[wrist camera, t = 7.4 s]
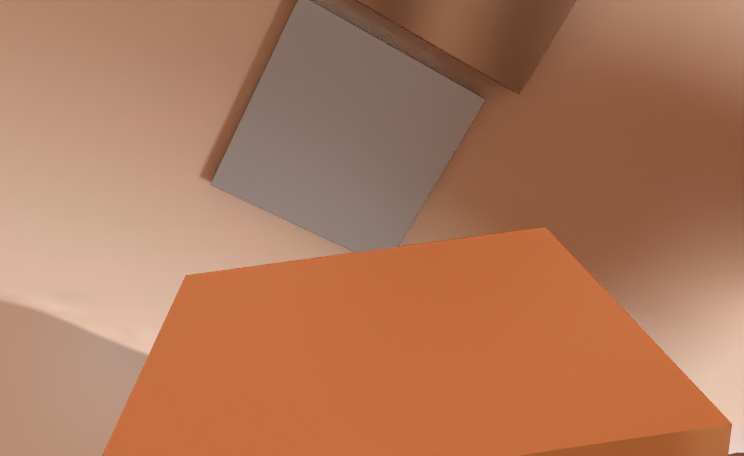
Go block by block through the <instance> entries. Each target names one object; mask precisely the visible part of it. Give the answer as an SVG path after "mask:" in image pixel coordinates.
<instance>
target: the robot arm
mask: <svg viewBox="0 0 744 456" xmlns="http://www.w3.org/2000/svg"><path fill="white" fill-rule="evenodd" d="M728 456H744V453H734V454H729V455H728Z"/></svg>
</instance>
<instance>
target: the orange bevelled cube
mask: <svg viewBox="0 0 744 456" xmlns="http://www.w3.org/2000/svg"><path fill="white" fill-rule="evenodd" d="M731 427H732V423H731V422H730V421H729V420H728V419H727V418H726V417H725V416H724V415H723V414H722V413H721V412H720V411H719V410H718V409H717V408H716V406H715V405H714V404H713V403H712V402H711V401H710V400H709V399H708V398H707V397H706V396H705V395H704V394H703V393H702V392H701V391H700V390H699V388H698V387H697V386H696V385H695V384H694V383H693V382H692V381H691V380H690V379H689V378H688V377H687V376H686V375H685V374H684V373H683V372H682V371H681V369H680V368H679V367H678V366H677V365H676V364H675V363H674V362H673V361H672V360H671V359H670V358H669V357H668V356H667V355H666V354H665V353H664V352H663V350H662V349H661V348H660V347H659V346H658V345H657V344H656V343H655V342H654V341H653V340H652V339H651V338H650V337H649V336H648V335H647V334H646V333H645V331H644V330H643V329H642V328H641V327H640V326H639V325H638V324H637V323H636V322H635V321H634V320H633V319H632V318H631V317H630V316H629V315H628V314H627V312H626V311H625V310H624V309H623V308H622V307H621V306H620V305H619V304H618V303H617V302H616V301H615V300H614V299H613V298H612V297H611V296H610V294H609V293H608V292H607V291H606V290H605V289H604V288H603V287H602V286H601V285H600V284H599V283H598V282H597V281H596V280H595V279H594V278H593V277H592V275H591V274H590V273H589V272H588V271H587V270H586V269H585V268H584V267H583V266H582V265H581V264H580V263H579V262H578V261H577V260H576V259H575V258H574V256H573V255H572V254H571V253H570V252H569V251H568V250H567V249H566V248H565V247H564V246H563V245H562V244H561V243H560V242H559V241H558V240H557V239H556V237H555V236H554V235H553V234H552V233H551V232H550V231H549V230H548V229H547V228H546V227H540V228H533V229H525V230H518V231H510V232H503V233H496V234H488V235H481V236H473V237H466V238H459V239H451V240H444V241H436V242H429V243H422V244H414V245H407V246H399V247H392V248H385V249H377V250H370V251H362V252H355V253H348V254H340V255H333V256H326V257H318V258H311V259H303V260H296V261H289V262H281V263H274V264H266V265H259V266H252V267H244V268H237V269H229V270H222V271H215V272H207V273H200V274H192V275H186V276H185V278H184V280H183V282H182V284H181V287H180V289H179V291H178V293H177V295H176V297H175V300H174V302H173V304H172V306H171V308H170V310H169V313H168V315H167V317H166V319H165V321H164V323H163V325H162V328H161V330H160V332H159V334H158V336H157V338H156V341H155V343H154V345H153V347H152V349H151V351H150V354H149V356H148V358H147V360H146V362H145V365H144V366H143V369H142V371H141V373H140V375H139V377H138V380H137V382H136V384H135V386H134V388H133V390H132V393H131V395H130V397H129V399H128V401H127V403H126V405H125V408H124V410H123V412H122V414H121V416H120V418H119V420H118V423H117V425H116V427H115V429H114V432H113V433H112V436H111V438H110V440H109V442H108V444H107V446H106V449H105V451H104V453H103V455H102V456H728V450H729V443H730V435H731Z"/></svg>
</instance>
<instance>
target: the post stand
mask: <svg viewBox="0 0 744 456" xmlns="http://www.w3.org/2000/svg"><path fill="white" fill-rule="evenodd" d="M356 1H358V2H360V3H362V4H363V5H365V6H367V7H369V8H370V9H372V10H374V11H376V12H377V13H379V14H381V15H382V16H384V17H386V18H388V19H389V20H391V21H393V22H395V23H396V24H398V25H400V26H402V27H403V28H405V29H407V30H408V31H410V32H412V33H414V34H415V35H417V36H419V37H421V38H422V39H424V40H426V41H427V42H429V43H431V44H433V45H434V46H436V47H438V48H440V49H441V50H443V51H445V52H447V53H448V54H450V55H452V56H453V57H455V58H457V59H459V60H460V61H462V62H464V63H466V64H467V65H469V66H471V67H473V68H474V69H476V70H478V71H479V72H481V73H483V74H485V75H486V76H488V77H490V78H492V79H493V80H495V81H497V82H498V83H500V84H502V85H504V86H505V87H507V88H509V89H511V90H513V91H514V92H516V93H518V94H520V92H521V90H522V89H523V87H524V85H525V84H526V82H527V81H528V79H529V77H530V76H531V74H532V72H533V71H534V69H535V67H536V66H537V64H538V63H539V61H540V59H541V58H542V56H543V54H544V53H545V51H546V49H547V48H548V46H549V45H550V43H551V41H552V40H553V38H554V36H555V35H556V33H557V31H558V30H559V28H560V27H561V25H562V23H563V22H564V20H565V18H566V17H567V15H568V13H569V12H570V10H571V9H572V7H573V5H574V4H575V2H576V0H356Z"/></svg>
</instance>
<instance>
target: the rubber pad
mask: <svg viewBox="0 0 744 456" xmlns="http://www.w3.org/2000/svg"><path fill="white" fill-rule="evenodd" d="M484 102H485V99H484V98H482V97H481V96H479V95H477V94H475V93H473V92H472V91H470V90H468V89H466V88H465V87H463V86H461V85H459V84H458V83H456V82H454V81H452V80H450V79H449V78H447V77H445V76H443V75H442V74H440V73H438V72H436V71H435V70H433V69H431V68H429V67H428V66H426V65H424V64H422V63H420V62H419V61H417V60H415V59H413V58H412V57H410V56H408V55H406V54H405V53H403V52H401V51H399V50H397V49H396V48H394V47H392V46H390V45H389V44H387V43H385V42H383V41H382V40H380V39H378V38H376V37H375V36H373V35H371V34H369V33H367V32H366V31H364V30H362V29H360V28H359V27H357V26H355V25H353V24H352V23H350V22H348V21H346V20H345V19H343V18H341V17H339V16H337V15H336V14H334V13H332V12H330V11H329V10H327V9H325V8H323V7H322V6H320V5H318V4H316V3H314V2H313V1H311V0H297V3H296V5H295V7H294V9H293V11H292V13H291V15H290V17H289V20H288V22H287V24H286V26H285V28H284V30H283V32H282V34H281V36H280V39H279V41H278V43H277V45H276V47H275V49H274V51H273V53H272V55H271V58H270V60H269V62H268V64H267V66H266V68H265V70H264V72H263V75H262V77H261V79H260V81H259V83H258V85H257V87H256V89H255V91H254V94H253V96H252V98H251V100H250V102H249V104H248V106H247V108H246V110H245V113H244V115H243V117H242V119H241V121H240V123H239V125H238V127H237V130H236V132H235V134H234V136H233V138H232V140H231V142H230V144H229V146H228V149H227V151H226V153H225V155H224V157H223V159H222V161H221V163H220V165H219V168H218V170H217V172H216V174H215V176H214V178H213V180H212V182H211V185H212V186H214V187H216V188H219V189H221V190H223V191H225V192H227V193H229V194H231V195H234V196H236V197H238V198H240V199H242V200H244V201H246V202H249V203H251V204H253V205H255V206H257V207H259V208H261V209H264V210H266V211H268V212H270V213H272V214H274V215H276V216H279V217H281V218H283V219H285V220H287V221H289V222H291V223H294V224H296V225H298V226H300V227H302V228H304V229H306V230H309V231H311V232H313V233H315V234H317V235H319V236H321V237H323V238H326V239H328V240H330V241H332V242H334V243H336V244H338V245H341V246H343V247H345V248H347V249H349V250H351V251H353V252H362V251H370V250H377V249H385V248H392V247H398V246H399V245H400V243H401V241H402V240H403V238H404V236H405V235H406V233H407V231H408V230H409V228H410V226H411V224H412V223H413V221H414V219H415V218H416V216H417V214H418V213H419V211H420V209H421V208H422V206H423V204H424V203H425V201H426V199H427V198H428V196H429V194H430V193H431V191H432V189H433V188H434V186H435V184H436V182H437V181H438V179H439V177H440V176H441V174H442V172H443V171H444V169H445V167H446V166H447V164H448V162H449V161H450V159H451V157H452V156H453V154H454V152H455V151H456V149H457V147H458V145H459V144H460V142H461V140H462V139H463V137H464V135H465V134H466V132H467V130H468V129H469V127H470V125H471V124H472V122H473V120H474V119H475V117H476V115H477V114H478V112H479V110H480V109H481V107H482V105H483V103H484Z"/></svg>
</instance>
